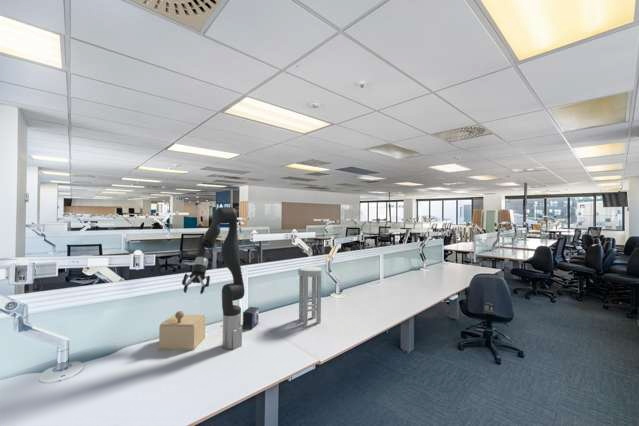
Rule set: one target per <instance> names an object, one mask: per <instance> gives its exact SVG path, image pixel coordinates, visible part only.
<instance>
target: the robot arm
mask: <svg viewBox="0 0 639 426" xmlns="http://www.w3.org/2000/svg"><path fill="white" fill-rule="evenodd" d="M221 224H226V225H227V224H228V232H227V235H226V237H225V239H224V241H223V243H222V244H221V245H222V246H221V258H222V262H223V264H224V265H225V267H227V269H228V270H229V272H230V274H231V275H232V279H233V280H232V282H230V283H227V284H224V285H223V286H222V289H221V309H222V342H221V343H222V346H221V347H222V348H223V349H226V350H236V349H238V348H239V347H241V346H242V344H243V326H242V327H241V325H242V324H241V323H242V321H241V320H242V308H241V306H239V305H236V304H234V301H238V300H241V299H243V298H244V296H245V293H246V292H245V285H244V278H243V274H242V273H243V272H242V267H241V256H240V255H241V254H240V248H239V236H238V213H237V210H236V208H235V207H234V206H233V207H232V206H220V207H217V208H216V209H215V211H214V213H213V216H212V219H211V222H210V226H209V227H208V229H207V231H206V232H205V234H202V235H200V236H199V237H198V239H197V254H196V257H195V260H194V262H193V266H192V270H191V272H190V274H188V273H185V274H184V276H183V278H182V282H181V284H182V285H183V287H184V288H183V292H184V293H185V294H186V293H187V291H188V289H189V286H190V285H191V284H192V283H193V284H201V288H200V292H199V293H200V295H203V294H204V292H205V288H208V287H209V286H210V281H211V277H210V275H206V273H207V268H208V265H209V259H210V255H211V252H210V251H209V250H208V249H214V248H215V246H216V241H217V238H218V237H219V235H220V234H221V227H220V225H221ZM189 278H190V279H189ZM204 280H206V282H205V283H204Z"/></svg>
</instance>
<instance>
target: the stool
mask: <svg viewBox="0 0 639 426" xmlns="http://www.w3.org/2000/svg"><path fill="white" fill-rule="evenodd" d="M297 272H298V274H297V275H298V276H299V287H298V288H299V290H298V291H299V293H298V294H299V295H298V297H299V298H298V301H299V302H298V319H299V321H302V324H303V325H304V326H307V325H308V319H309V318H308V317H309V316H308V313H309V312H311V318H312V319H316V320H315V322H316V323H317V324H321V322H322V318H321V317H322V316H321V315H322V314H321V313H322V305H321V304H322V276H323V268H321V267H318V266H302V267H299V268H298V271H297ZM309 278H311V299H309ZM308 303H310V304H308ZM309 307H311V308H309Z"/></svg>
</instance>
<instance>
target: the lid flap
mask: <svg viewBox="0 0 639 426" xmlns="http://www.w3.org/2000/svg"><path fill="white" fill-rule="evenodd" d="M204 317H205V318H206V316H205V314H184V311H181V310H179V311H176V313H175V314H173V315H172V316H170V317H169V318H167V319H166V320H163V321H162V322H161V323H160V325H159V326H195V325H196V324H197V323H198V322H199V321H200V320H201V319H203V318H204Z"/></svg>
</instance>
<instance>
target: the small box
mask: <svg viewBox="0 0 639 426" xmlns="http://www.w3.org/2000/svg"><path fill="white" fill-rule="evenodd" d="M259 310H260V308H259V307H255V306H249V307H248V308H247V309H245V310H244V311H243V312H242V330H253V329H254V328H255V327H256V326H258V324H259V318H260V317H259V314H260V313H259V312H260V311H259Z"/></svg>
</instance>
